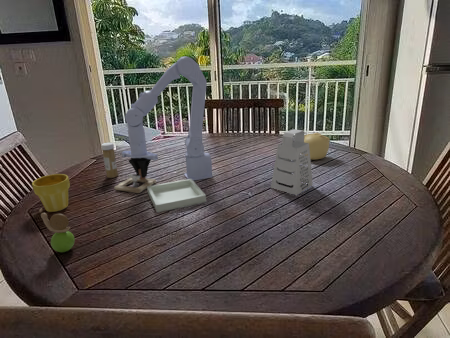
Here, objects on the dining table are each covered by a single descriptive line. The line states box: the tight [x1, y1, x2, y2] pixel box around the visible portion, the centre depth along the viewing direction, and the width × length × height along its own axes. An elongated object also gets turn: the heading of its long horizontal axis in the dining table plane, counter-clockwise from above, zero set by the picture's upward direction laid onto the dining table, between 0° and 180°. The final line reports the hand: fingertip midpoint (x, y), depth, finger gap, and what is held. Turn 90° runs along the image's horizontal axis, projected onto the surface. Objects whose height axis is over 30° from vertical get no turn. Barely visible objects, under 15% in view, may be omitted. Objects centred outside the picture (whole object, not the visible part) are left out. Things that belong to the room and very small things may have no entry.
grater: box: [270, 128, 314, 195], centre depth 114 cm, size 10×10×20 cm
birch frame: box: [113, 169, 157, 194], centre depth 122 cm, size 10×10×5 cm
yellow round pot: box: [302, 132, 331, 161], centre depth 144 cm, size 11×12×11 cm
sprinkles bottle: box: [100, 141, 119, 179], centre depth 131 cm, size 5×5×14 cm
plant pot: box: [31, 173, 71, 213], centre depth 107 cm, size 10×10×10 cm
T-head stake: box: [127, 173, 141, 188], centre depth 122 cm, size 4×2×4 cm, turn 67°
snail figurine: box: [38, 208, 75, 253], centre depth 83 cm, size 5×6×12 cm
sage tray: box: [146, 178, 207, 213], centre depth 112 cm, size 16×16×2 cm
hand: (142, 176), depth 126 cm, fingers closed on birch frame
